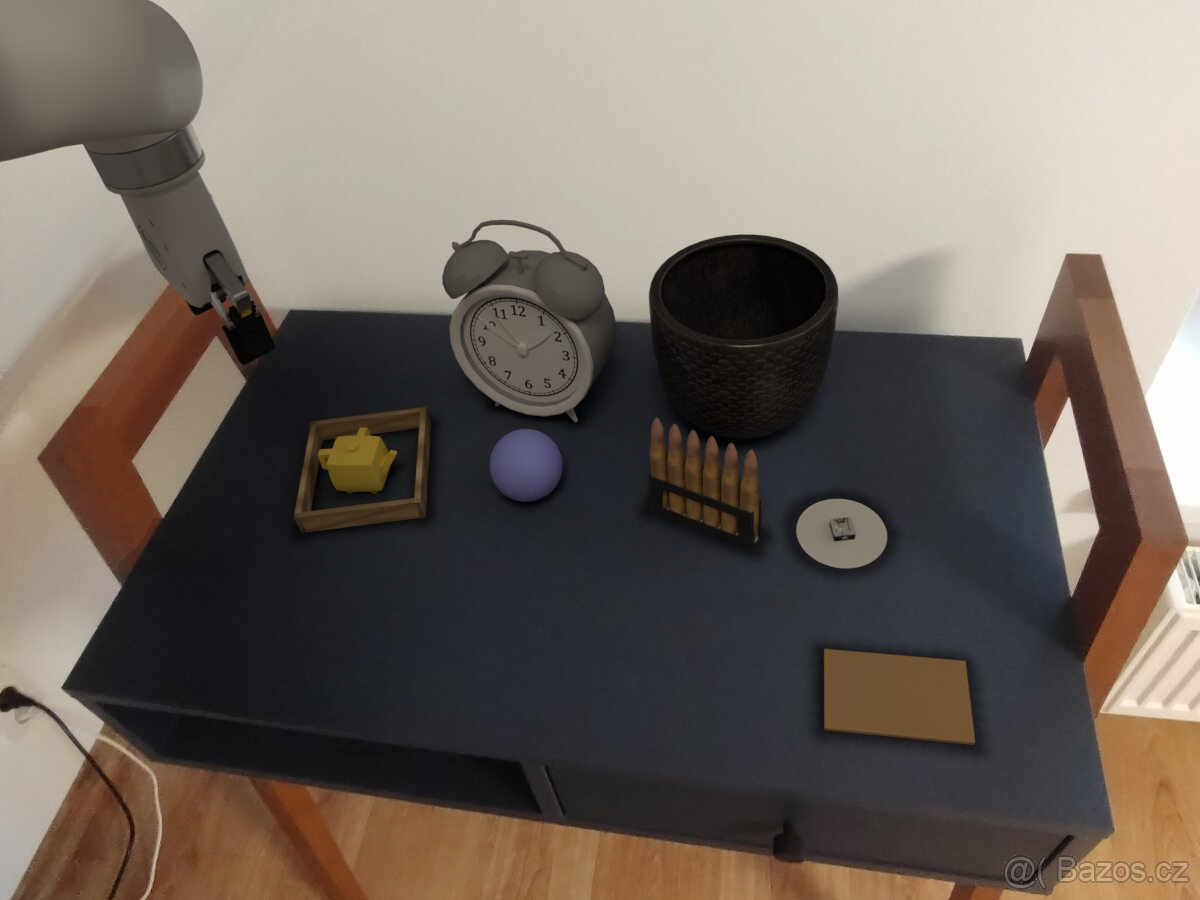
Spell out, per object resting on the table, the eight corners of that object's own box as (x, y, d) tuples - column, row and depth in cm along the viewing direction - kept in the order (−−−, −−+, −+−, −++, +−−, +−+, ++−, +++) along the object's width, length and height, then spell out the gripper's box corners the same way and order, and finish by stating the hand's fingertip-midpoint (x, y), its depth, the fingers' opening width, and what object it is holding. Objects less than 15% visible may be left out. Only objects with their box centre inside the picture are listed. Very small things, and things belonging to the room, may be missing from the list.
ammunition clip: (649, 511, 89) (641, 421, 80) (658, 497, 90) (651, 407, 81) (753, 551, 84) (757, 461, 76) (762, 536, 85) (766, 445, 77)
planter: (818, 483, 89) (832, 355, 78) (641, 463, 93) (630, 339, 81) (831, 364, 100) (845, 237, 89) (673, 351, 104) (666, 228, 93)
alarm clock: (460, 410, 101) (411, 237, 85) (494, 359, 106) (454, 187, 90) (602, 439, 96) (578, 261, 80) (630, 384, 101) (613, 206, 85)
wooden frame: (425, 517, 91) (420, 501, 89) (301, 533, 91) (293, 517, 89) (431, 422, 100) (426, 406, 98) (318, 437, 100) (311, 421, 98)
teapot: (413, 454, 97) (401, 419, 93) (400, 497, 93) (387, 461, 89) (339, 454, 98) (324, 419, 94) (323, 496, 94) (307, 461, 90)
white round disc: (806, 572, 82) (807, 563, 81) (788, 503, 88) (789, 494, 87) (897, 563, 82) (899, 554, 81) (874, 494, 87) (875, 485, 86)
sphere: (505, 461, 95) (493, 411, 90) (572, 465, 94) (564, 415, 89) (488, 514, 90) (474, 465, 85) (559, 519, 89) (549, 470, 84)
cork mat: (974, 745, 70) (975, 742, 70) (823, 730, 72) (824, 727, 72) (964, 663, 75) (965, 660, 74) (823, 651, 77) (823, 648, 76)
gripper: (59, 134, 73) (155, 309, 85) (142, 215, 63) (237, 399, 76) (150, 98, 76) (230, 272, 88) (243, 170, 66) (318, 354, 79)
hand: (233, 330), depth 82 cm, fingers open, 9 cm apart
